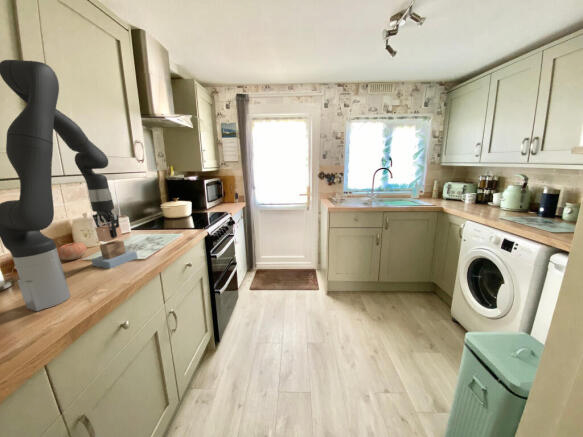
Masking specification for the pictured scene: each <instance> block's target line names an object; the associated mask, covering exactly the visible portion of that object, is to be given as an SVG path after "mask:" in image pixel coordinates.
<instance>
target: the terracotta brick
mask: <svg viewBox="0 0 583 437" xmlns="http://www.w3.org/2000/svg"><path fill="white" fill-rule="evenodd" d="M115 225H116V223H115ZM95 232H96V236H97V241H98V242H103V243H109V242H112V241H115V240H118V239H121V238H123V232H122V228H121V224H120V223H119V227H118V228H116V232H117V237H115V238H111V235H110V230H109V227H108V226H107V225H106V226H102V227H97V226H96V227H95Z"/></svg>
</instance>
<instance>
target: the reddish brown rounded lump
mask: <svg viewBox="0 0 583 437" xmlns="http://www.w3.org/2000/svg"><path fill="white" fill-rule="evenodd" d="M57 251H58V255H59V258H60V260H63V261H74V260H77V259H80V258H82V257H83V256H84V255H85V254H86V253H87V246H86V245H85V244H84V243H81V242H71V243H70V242H69V243H66V244H63V245H60V246H59V247H58V248H57Z"/></svg>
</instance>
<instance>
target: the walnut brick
mask: <svg viewBox="0 0 583 437" xmlns="http://www.w3.org/2000/svg"><path fill="white" fill-rule="evenodd" d="M99 248H100V253H101V256H102V257H103V258H106V259H112V258H114V257H117V256H120V255H123V254H125V253H126V251H127V250H126V247H125V242H124V240H118V239H114V240H111V241H108V242H104V243H102V244H99Z"/></svg>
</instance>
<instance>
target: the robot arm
mask: <svg viewBox="0 0 583 437" xmlns="http://www.w3.org/2000/svg"><path fill="white" fill-rule="evenodd" d="M0 76H1V79H2V80H3V81H4V83H5V84H6V86H8V87H9V89H11V91H13V92H14V93H15V94H16V96H18V97H19V98H20V99H21V100H22V101H23V102H24V103H26V105H25V107H24V108H23V109H22V110H21V112H20V113H18V115H17V117H16V118H14V120H13V121H12V122H11V124H10V125H9V127H8V129H7V131H6V143H5V144H6V145H5V151H6V155H7V159H8V161H9V163H10V164H11V165H12V166H11V167H12V168H13V169H14V171H15V172H16V174H17V176H18V179H19V185H20V186H19V187H20V190H19V199H17V200H13V199H12V200H7V201H3V202H0V240H1V243H2V244H3V246H4V248H5V249H6V250H7V251H9V252H10V254H11V256H12V260H13V262H14V266H15V268H16V271H17V275H18V276H19V278H18V279H17V285H18V287H19V290H20V293H21V296H22V298H23V301H24V305H25V307H26V309H29V310H31V311H33V312H34V311H35V312H39V311H42V310H45V309H48V308H51V307H54V306H55V307H56V306H57V305H60V304H62V303H63V302H65V301H67V300H69V298H70V297H71V293H70V289H69V286H68V282H67V279H66V275H65V272H64V269H63V265H62V263H61V259H60V258H59V255H58V251H57V249H58V248H57V245H56V242H55V240H54V239H52V238H51V237H48V236H46V235H45V234H44V233H43V232H41V231H43V230H45V229H47V228H48V227H50V226H51V225H52V222H53V220H54V216H55V210H54V209H55V207H54V196H53V187H52V186H53V185H52V173H53V172H52V170H53V169H52V168H53V166H52V164H53V152H54V131H55V132H56V134H57V135H58V136H59V137H60V138H61V140H62V141H63V142H64V144H65V145H66V146H67V147H68V148H69V149H70V150H71V151H73V152H75V153H76V154H75V156H74V163H75V165H76V167H77V168H78V169H79V172H80V173H81V175H82V176H83V178H84V180H85V183H86V187H87V192H88V198H89V202H90V208H91V210H92V212H94V213H96V214H92V218H93V221H94V223H95V226H96V228H97V227H102V226H106V225H107V226H108V227H109V230H110V235H111V238H115V237H117V232H116V228H118V227H119V224H120V220H119V215H118V214H114V213H113V210H114V209H115V205H114V201H113V196H112V192H111V191H110V185H109V182H108V179H107V176H106V175H104V174H99V173H96V172H95V171H94V170H100V169H105V168H107V167H108V165H109V159H108V156H107V154H105V153H104V152H103V150H101V148H99V147H98V146H96V144H94V143H93V142H92V141H91V140H90V139H89V138H88V136H87V135H86V134H85V133H84V131H83V129H82V128H81V127H80V126H79V125H78V123H76V122H75V121H74V120H73V119H72V118H70V117H69V116H67V115H66V114H64V113H63V112H61V111H60V110H59V109H57V104H58V100H59V94H60V93H59V92H60V83H59V79H58V77H57V74H56V72H55V71H54V70H53V68H52V67H51V66H49V65H48V64H46V63H44V62H41V61H38V60H37V61H36V60H35V61H34V60H21V59H19V60H18V59H4V60H2V61H0ZM115 224H116V225H115Z"/></svg>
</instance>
